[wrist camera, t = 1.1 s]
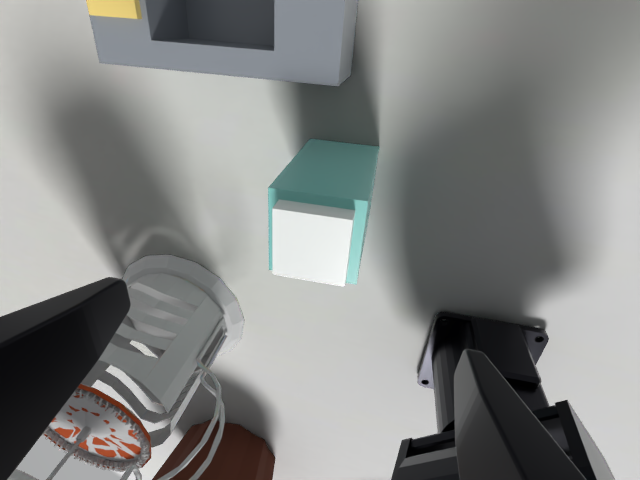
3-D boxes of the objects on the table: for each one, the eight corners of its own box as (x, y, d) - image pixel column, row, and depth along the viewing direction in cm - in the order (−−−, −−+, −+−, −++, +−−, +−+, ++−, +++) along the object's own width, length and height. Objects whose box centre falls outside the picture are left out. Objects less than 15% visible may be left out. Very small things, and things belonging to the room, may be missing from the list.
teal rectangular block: (369, 210, 21) (354, 297, 14) (307, 201, 21) (262, 281, 14) (379, 146, 19) (366, 210, 12) (310, 138, 19) (260, 196, 13)
